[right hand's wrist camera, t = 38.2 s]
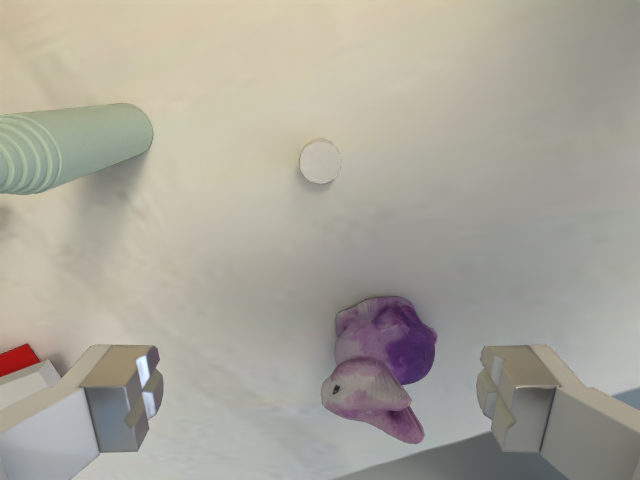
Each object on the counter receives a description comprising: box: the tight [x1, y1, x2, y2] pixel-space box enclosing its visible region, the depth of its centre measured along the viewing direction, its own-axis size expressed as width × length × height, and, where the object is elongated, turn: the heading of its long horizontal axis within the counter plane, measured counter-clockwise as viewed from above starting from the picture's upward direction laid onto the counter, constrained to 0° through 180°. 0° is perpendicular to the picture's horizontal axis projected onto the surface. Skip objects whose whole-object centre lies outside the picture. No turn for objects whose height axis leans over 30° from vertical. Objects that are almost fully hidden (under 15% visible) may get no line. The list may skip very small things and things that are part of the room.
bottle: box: [0, 103, 153, 195], centre depth 29 cm, size 5×5×20 cm
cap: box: [299, 139, 341, 184], centre depth 38 cm, size 4×4×2 cm
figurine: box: [321, 297, 438, 444], centre depth 39 cm, size 9×10×15 cm
